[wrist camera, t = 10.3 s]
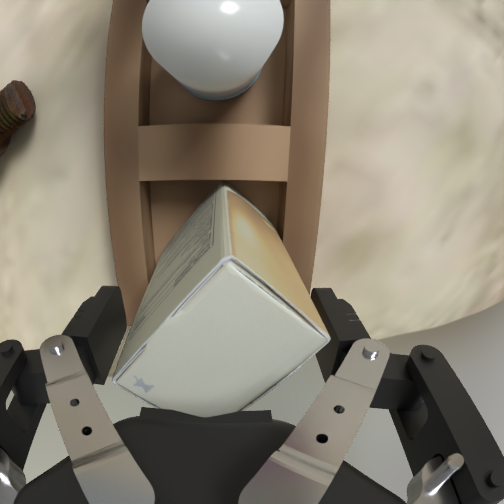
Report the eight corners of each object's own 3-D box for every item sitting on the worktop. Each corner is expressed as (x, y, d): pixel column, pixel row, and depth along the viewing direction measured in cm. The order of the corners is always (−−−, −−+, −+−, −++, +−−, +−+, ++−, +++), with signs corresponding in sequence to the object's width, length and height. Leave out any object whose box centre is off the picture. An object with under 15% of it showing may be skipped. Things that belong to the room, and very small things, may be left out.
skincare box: (211, 286, 21) (205, 439, 10) (162, 247, 20) (103, 387, 9) (277, 219, 20) (340, 343, 9) (226, 173, 19) (227, 255, 7)
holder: (315, -3, 15) (329, -20, 12) (295, 302, 23) (304, 326, 20) (130, -5, 13) (117, -21, 11) (136, 302, 22) (126, 325, 19)
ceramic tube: (263, 24, 15) (287, -33, 8) (259, 102, 17) (284, 86, 10) (176, 24, 14) (147, -32, 7) (172, 102, 16) (134, 87, 9)
